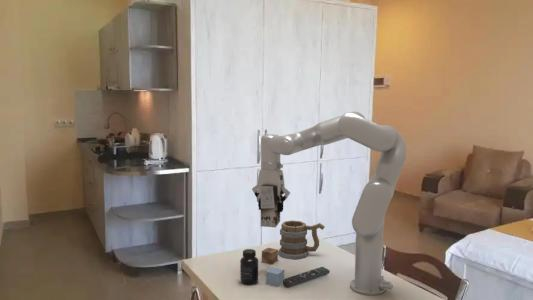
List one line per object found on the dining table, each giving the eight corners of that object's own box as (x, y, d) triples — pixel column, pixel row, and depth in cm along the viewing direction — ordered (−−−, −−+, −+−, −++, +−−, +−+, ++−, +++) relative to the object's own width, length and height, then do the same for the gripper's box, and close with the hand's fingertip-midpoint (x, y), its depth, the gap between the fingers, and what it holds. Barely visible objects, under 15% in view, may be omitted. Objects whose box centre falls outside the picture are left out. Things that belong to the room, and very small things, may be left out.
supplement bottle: (262, 281, 166) (262, 250, 164) (249, 287, 161) (249, 255, 159) (249, 276, 170) (249, 246, 169) (236, 281, 165) (236, 251, 164)
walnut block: (277, 260, 187) (277, 249, 186) (271, 264, 183) (271, 253, 182) (267, 258, 190) (267, 247, 189) (261, 262, 185) (261, 250, 185)
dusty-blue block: (284, 282, 165) (284, 269, 164) (277, 287, 161) (277, 274, 160) (272, 279, 168) (272, 267, 167) (266, 284, 163) (266, 271, 163)
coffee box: (276, 227, 167) (276, 186, 165) (260, 226, 169) (260, 185, 167) (280, 221, 176) (280, 181, 174) (265, 220, 177) (265, 181, 176)
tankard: (275, 257, 191) (276, 224, 189) (283, 248, 203) (283, 216, 201) (321, 262, 185) (321, 228, 183) (326, 252, 197) (326, 220, 195)
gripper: (295, 166, 168) (294, 211, 170) (256, 163, 177) (257, 205, 179) (285, 169, 162) (285, 215, 164) (246, 165, 171) (246, 209, 173)
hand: (270, 210), depth 172 cm, fingers closed on coffee box, 7 cm apart
